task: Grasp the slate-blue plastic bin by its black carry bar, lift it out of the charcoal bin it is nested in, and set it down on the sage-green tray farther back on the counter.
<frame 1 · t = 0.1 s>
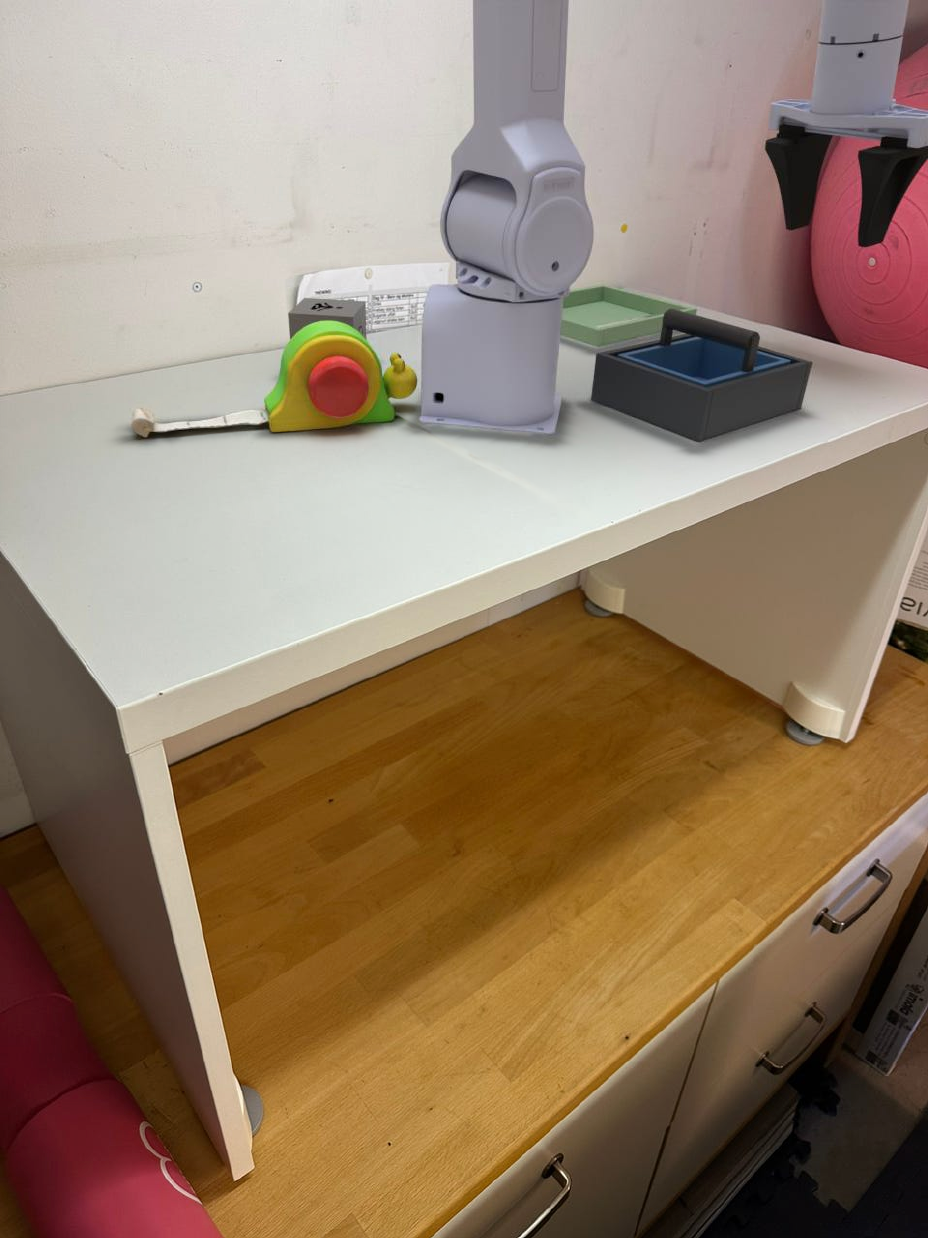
hand: (832, 235, 73), 11 cm above the table, tool pointing down, fingers open, 7 cm apart
dark gray cube: (331, 372, 72), on the table
blue bin: (696, 403, 67), resting on charcoal bin
toy measuring tape: (281, 425, 62), on the table
charcoal bin: (694, 410, 67), on the table
green tray: (599, 324, 87), on the table
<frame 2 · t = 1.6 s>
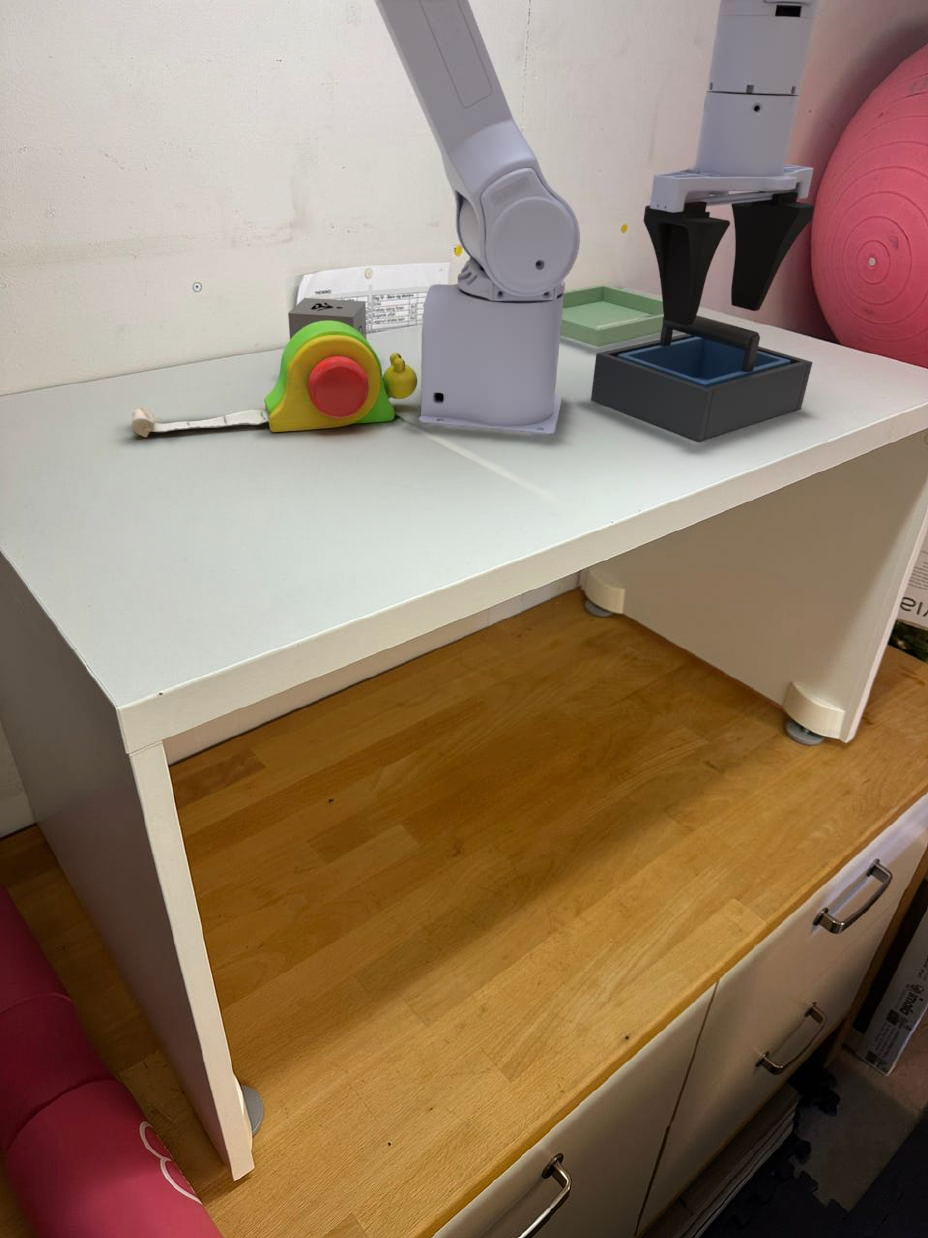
hand: (712, 314, 63), 7 cm above the table, tool pointing down, fingers open, 7 cm apart
nothing on the table moved.
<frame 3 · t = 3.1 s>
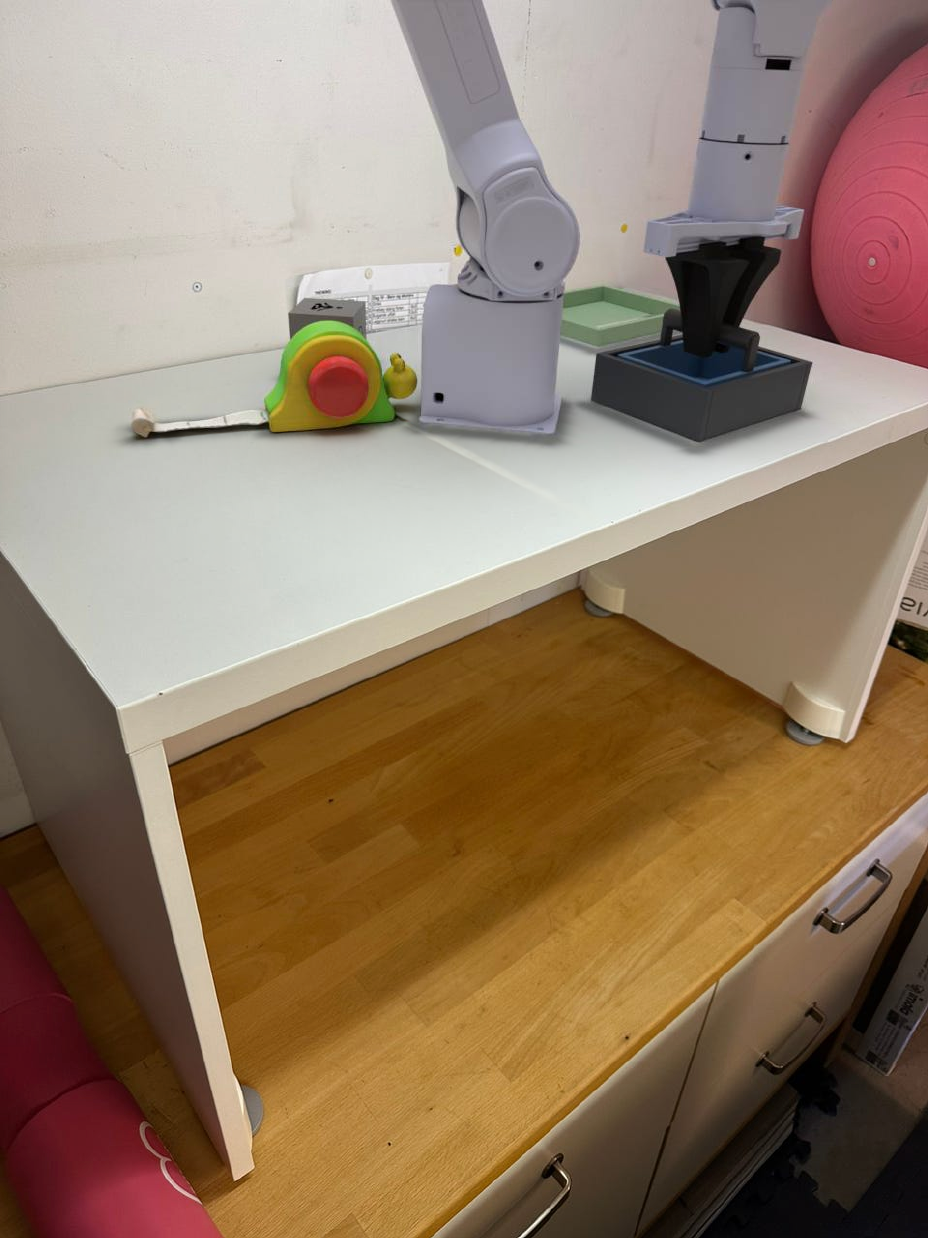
hand: (705, 351, 65), 4 cm above the table, tool pointing down, fingers closed on blue bin
blue bin: (696, 403, 67), point 1 cm above the table, touching gripper
everything else where it was.
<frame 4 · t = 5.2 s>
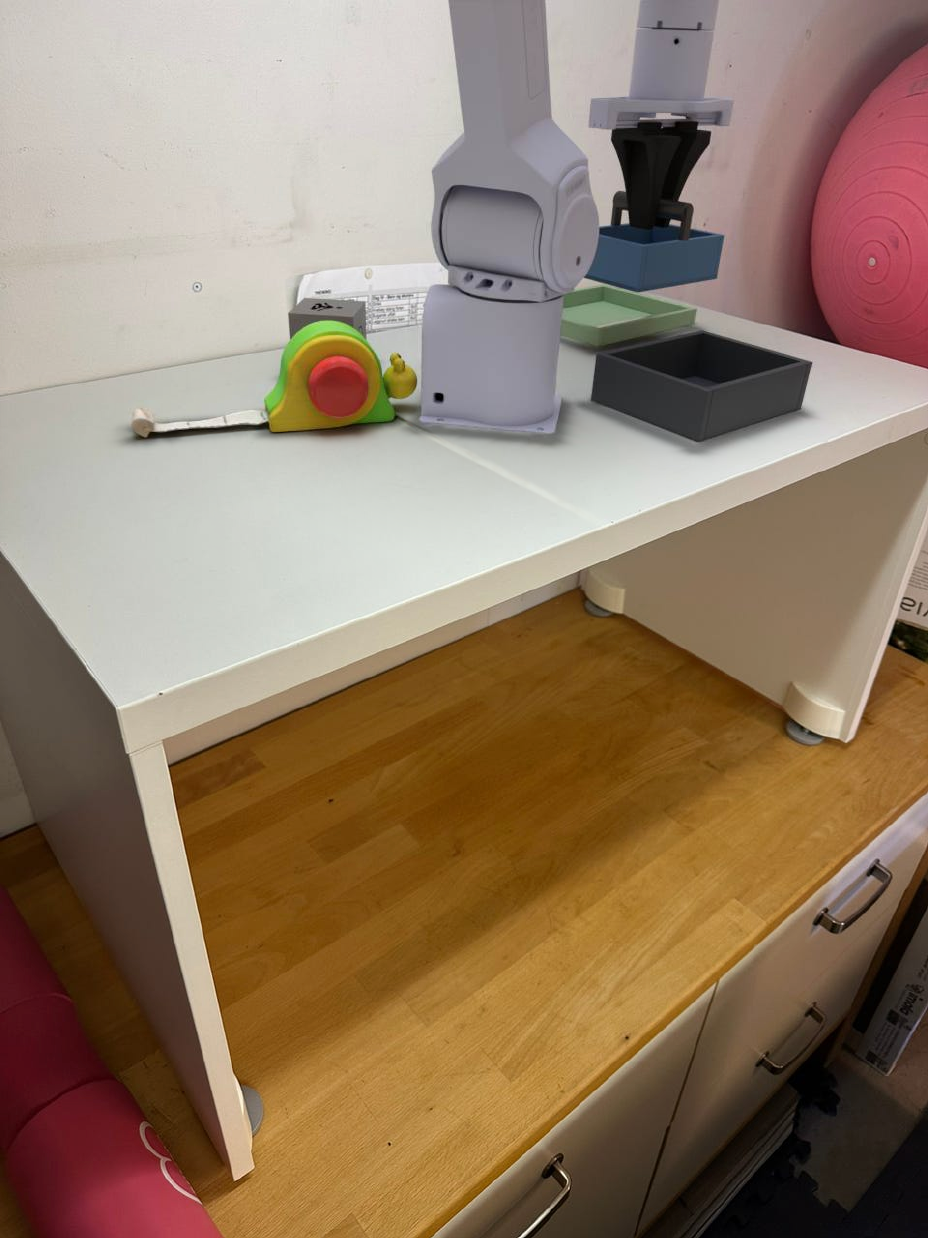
hand: (648, 226, 74), 10 cm above the table, tool pointing down, fingers closed on blue bin
blue bin: (642, 276, 76), point 7 cm above the table, touching gripper
everything else where it was.
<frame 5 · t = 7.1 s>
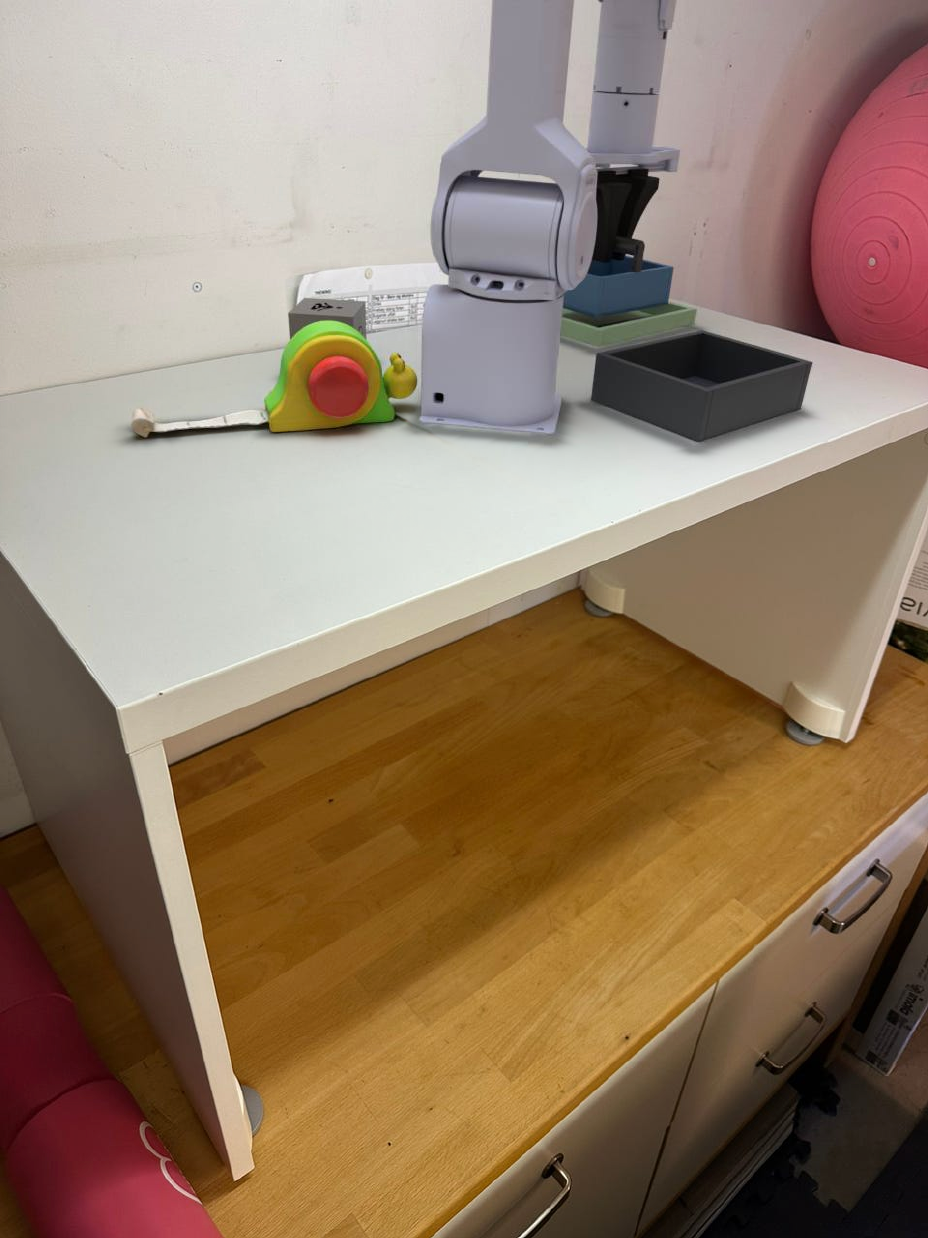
hand: (606, 259, 84), 6 cm above the table, tool pointing down, fingers closed on blue bin
blue bin: (602, 302, 86), point 2 cm above the table, touching gripper
everything else where it was.
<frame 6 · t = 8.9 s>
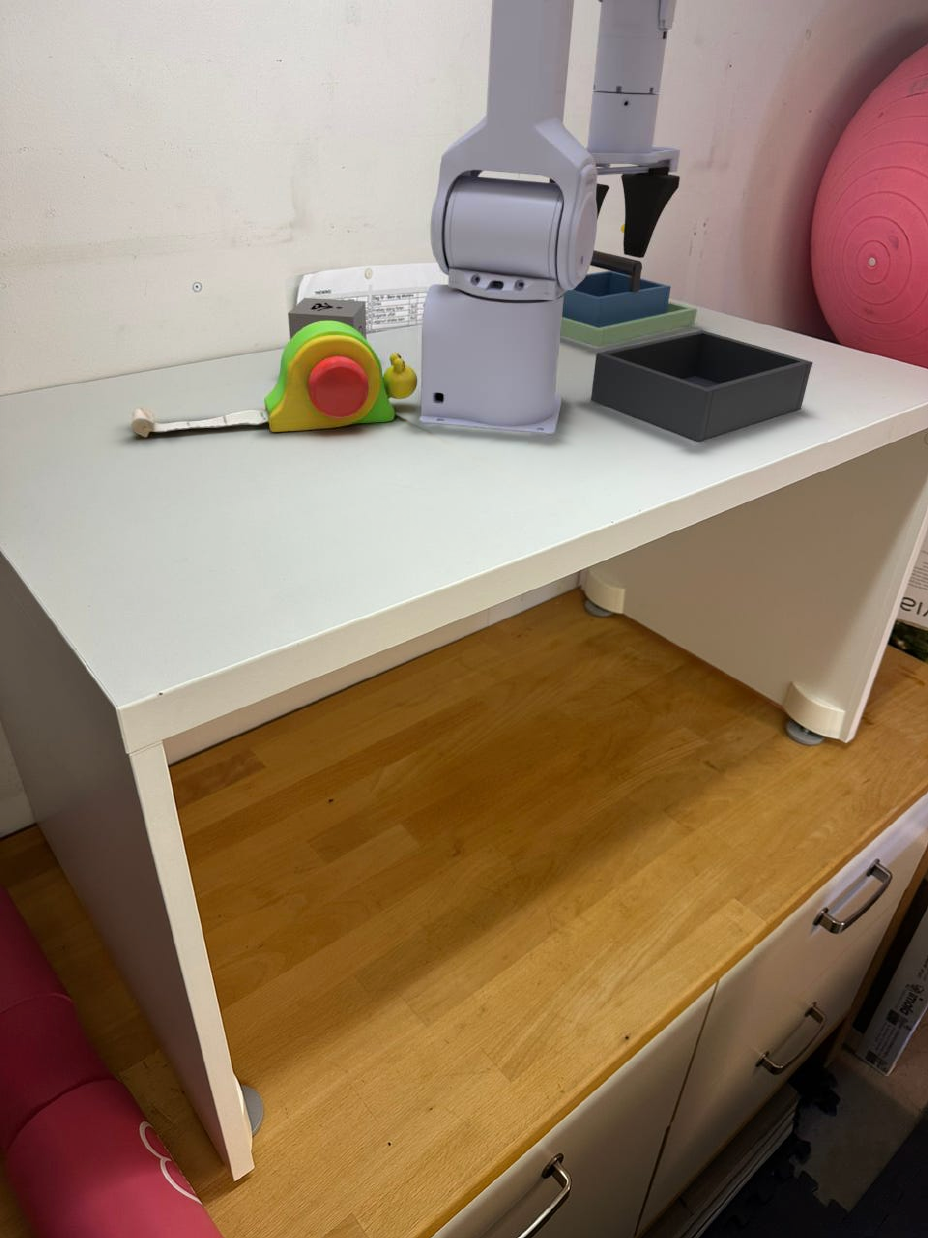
hand: (606, 259, 84), 6 cm above the table, tool pointing down, fingers open, 7 cm apart
blue bin: (600, 320, 87), resting on green tray
everything else where it was.
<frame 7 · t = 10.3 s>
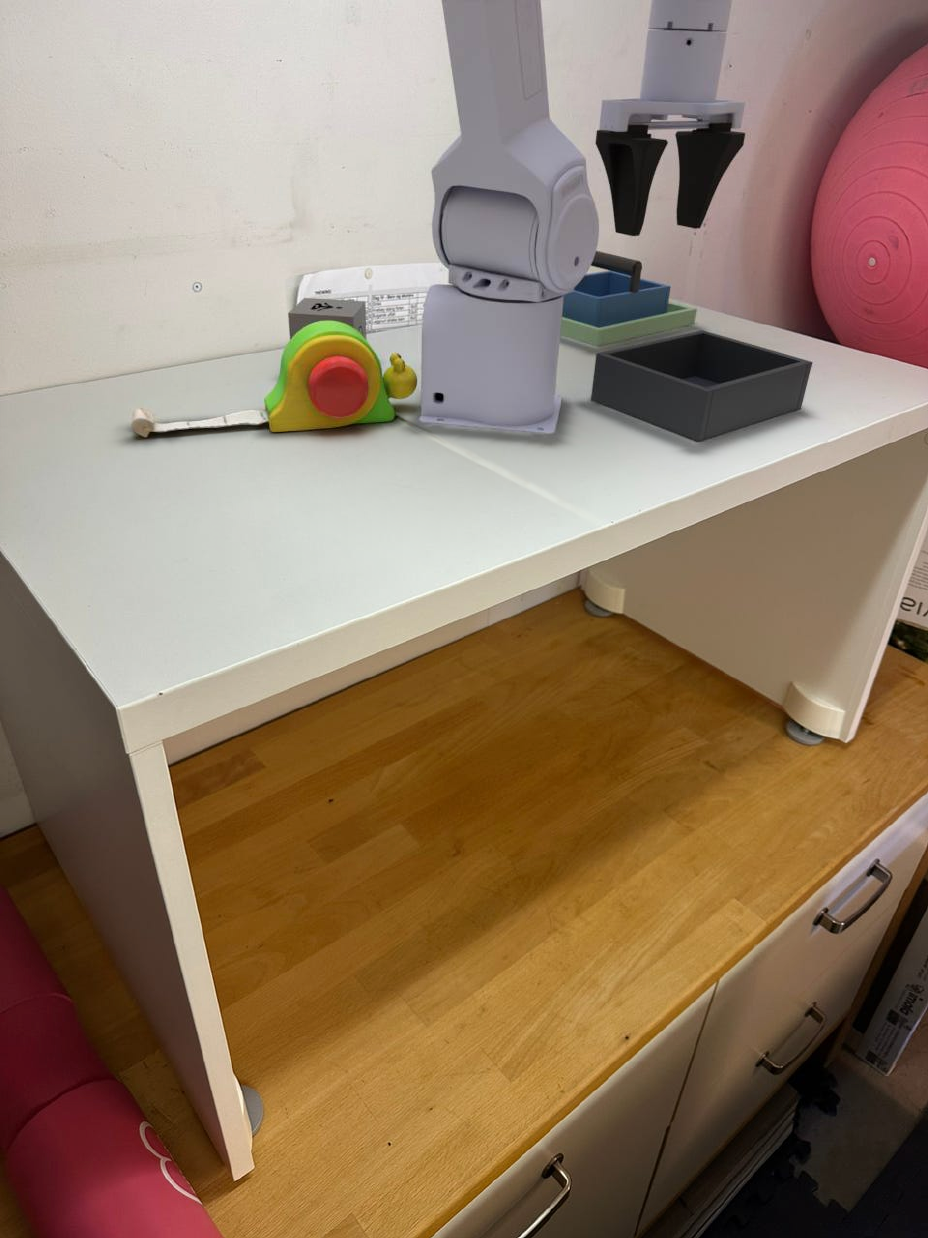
hand: (658, 230, 73), 10 cm above the table, tool pointing down, fingers open, 7 cm apart
nothing on the table moved.
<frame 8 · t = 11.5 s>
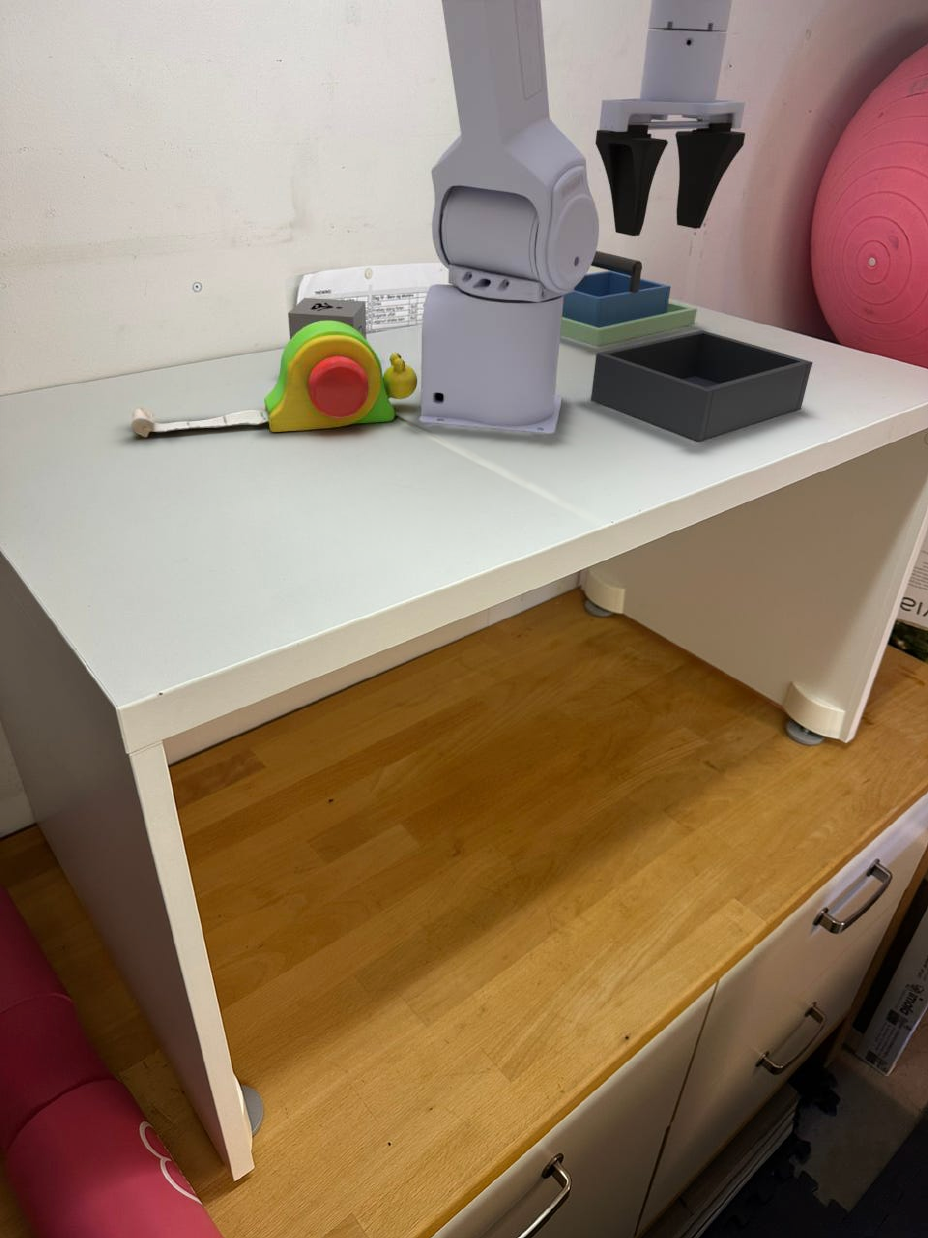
hand: (658, 230, 73), 10 cm above the table, tool pointing down, fingers open, 7 cm apart
nothing on the table moved.
at the end: blue bin 0.1 cm off-centre in the green tray, point 0.4 cm above the green tray's base; blue bin tilted 0°; blue bin touching green tray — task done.
